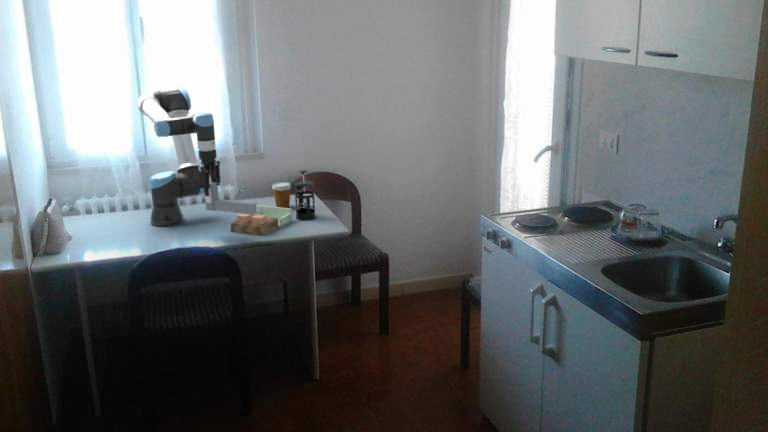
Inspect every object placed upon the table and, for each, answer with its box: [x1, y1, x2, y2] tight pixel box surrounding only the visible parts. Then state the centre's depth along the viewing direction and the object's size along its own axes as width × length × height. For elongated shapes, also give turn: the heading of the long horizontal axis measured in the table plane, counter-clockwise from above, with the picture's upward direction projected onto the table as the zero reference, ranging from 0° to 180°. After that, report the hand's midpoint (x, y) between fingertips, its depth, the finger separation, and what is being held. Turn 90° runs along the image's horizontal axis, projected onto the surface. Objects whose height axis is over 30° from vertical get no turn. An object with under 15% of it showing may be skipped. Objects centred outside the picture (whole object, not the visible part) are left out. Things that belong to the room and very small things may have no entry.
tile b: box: [251, 214, 267, 225], centre depth 321 cm, size 5×5×3 cm
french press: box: [293, 169, 317, 222], centre depth 338 cm, size 12×9×23 cm
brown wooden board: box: [230, 216, 280, 236], centre depth 325 cm, size 17×13×4 cm
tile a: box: [235, 213, 252, 223], centre depth 324 cm, size 5×5×3 cm
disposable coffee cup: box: [271, 181, 292, 208], centre depth 357 cm, size 10×10×12 cm
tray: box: [252, 204, 293, 228], centre depth 335 cm, size 18×10×6 cm, turn 67°
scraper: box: [204, 181, 258, 215], centre depth 313 cm, size 24×4×12 cm, turn 67°
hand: (212, 201), depth 317 cm, fingers closed on scraper, 4 cm apart
